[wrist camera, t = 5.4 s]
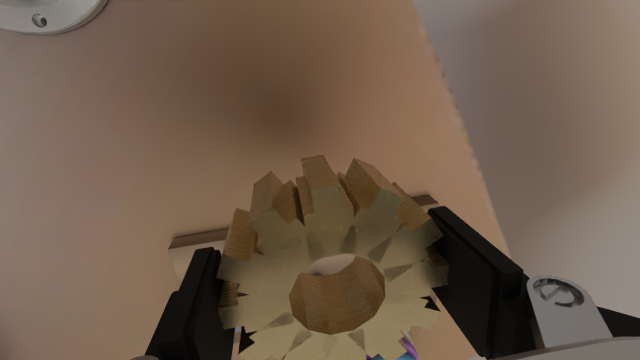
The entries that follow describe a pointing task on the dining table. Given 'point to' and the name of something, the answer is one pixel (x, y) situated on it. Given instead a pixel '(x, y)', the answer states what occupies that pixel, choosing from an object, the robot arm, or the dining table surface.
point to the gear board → (187, 245)
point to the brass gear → (335, 289)
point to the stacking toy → (410, 356)
